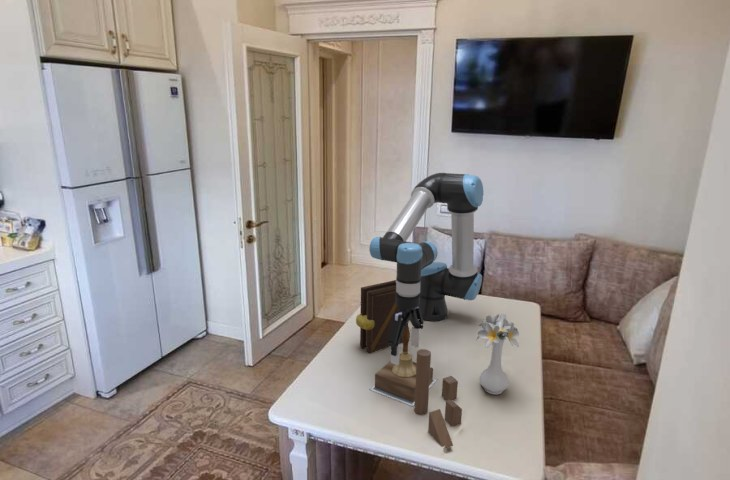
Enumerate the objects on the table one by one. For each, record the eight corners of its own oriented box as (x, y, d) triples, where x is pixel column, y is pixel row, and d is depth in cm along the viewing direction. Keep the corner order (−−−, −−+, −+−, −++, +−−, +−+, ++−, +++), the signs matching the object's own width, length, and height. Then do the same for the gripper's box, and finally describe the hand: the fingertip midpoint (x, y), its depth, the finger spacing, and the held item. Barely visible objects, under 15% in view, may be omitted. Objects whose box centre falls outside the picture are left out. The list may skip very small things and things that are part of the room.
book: (397, 335, 183) (400, 277, 176) (411, 344, 176) (413, 284, 169) (352, 349, 171) (352, 288, 165) (364, 359, 164) (365, 295, 158)
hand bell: (387, 367, 148) (388, 322, 144) (409, 362, 151) (411, 318, 147) (399, 380, 141) (401, 333, 137) (422, 374, 144) (424, 329, 140)
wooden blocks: (442, 449, 119) (447, 383, 114) (404, 408, 136) (407, 348, 131) (492, 432, 126) (498, 368, 121) (450, 394, 143) (454, 337, 138)
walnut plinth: (395, 368, 156) (396, 356, 155) (432, 381, 149) (433, 368, 148) (374, 387, 145) (375, 373, 144) (413, 402, 138) (413, 388, 136)
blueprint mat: (396, 367, 159) (396, 365, 159) (437, 381, 150) (437, 379, 150) (368, 391, 144) (368, 389, 144) (412, 408, 136) (413, 406, 136)
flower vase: (510, 376, 154) (517, 308, 148) (515, 407, 137) (523, 333, 131) (471, 371, 157) (477, 304, 151) (471, 401, 140) (477, 328, 133)
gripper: (415, 279, 151) (412, 336, 156) (376, 302, 131) (374, 367, 136) (435, 284, 147) (432, 342, 152) (398, 308, 127) (396, 375, 132)
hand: (405, 354), depth 144 cm, fingers open, 13 cm apart
